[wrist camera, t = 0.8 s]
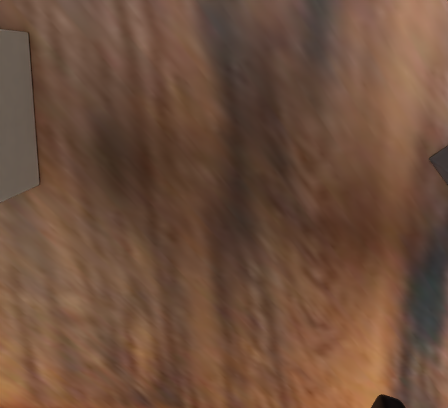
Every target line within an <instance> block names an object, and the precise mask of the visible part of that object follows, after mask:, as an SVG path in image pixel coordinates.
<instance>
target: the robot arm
mask: <svg viewBox="0 0 448 408" xmlns="http://www.w3.org/2000/svg"><path fill="white" fill-rule="evenodd" d="M371 408H406V407H405V406H404V404H403V403H402V402H401V401H400V400H399V399H396V398H393V397H390V396H387V395H382V394H381V395H379V396H378V397H377V398H376V400H375V402H374V403H373V405H372V407H371Z"/></svg>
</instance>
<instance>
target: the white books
mask: <svg viewBox="0 0 448 408" xmlns="http://www.w3.org/2000/svg"><path fill="white" fill-rule="evenodd" d="M38 185H39V172H38V158H37V145H36V131H35V118H34V104H33V91H32V77H31V64H30V50H29V37H28V33H27V32H21V31H13V30H4V29H0V203H1V202H3V201H5V200H7V199H9V198H12V197H14V196H16V195H18V194H20V193H23V192H25V191H27V190H29V189H31V188H33V187H36V186H38Z"/></svg>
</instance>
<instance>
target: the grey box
mask: <svg viewBox="0 0 448 408" xmlns="http://www.w3.org/2000/svg"><path fill="white" fill-rule="evenodd" d="M429 160H430V162H431V163H432V164H433V166H434V167H435V168H436V170H437V171H438V172H439V174H440V175H441V177H442V178H443V179H444V181H445V182H446V183H447V185H448V146H447V147H446V148H444V149H443V150H441V151H439V152H438V153H436V154H435V155H433V156H432V157H430V158H429Z"/></svg>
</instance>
